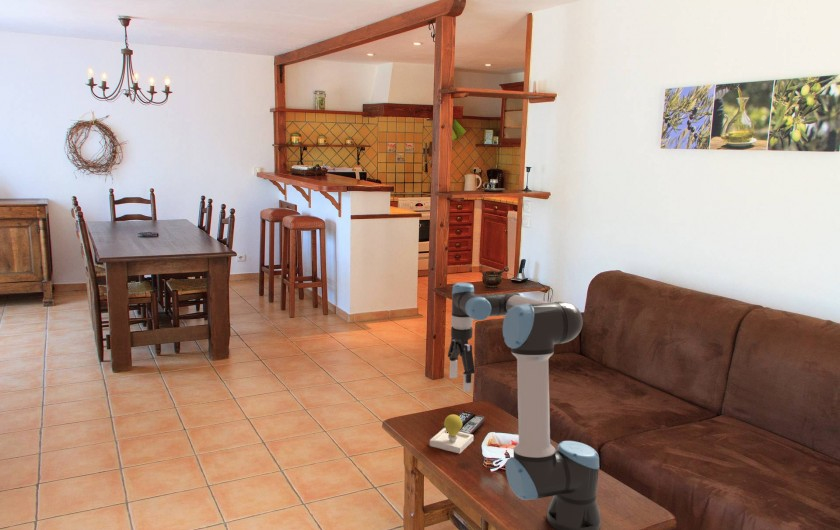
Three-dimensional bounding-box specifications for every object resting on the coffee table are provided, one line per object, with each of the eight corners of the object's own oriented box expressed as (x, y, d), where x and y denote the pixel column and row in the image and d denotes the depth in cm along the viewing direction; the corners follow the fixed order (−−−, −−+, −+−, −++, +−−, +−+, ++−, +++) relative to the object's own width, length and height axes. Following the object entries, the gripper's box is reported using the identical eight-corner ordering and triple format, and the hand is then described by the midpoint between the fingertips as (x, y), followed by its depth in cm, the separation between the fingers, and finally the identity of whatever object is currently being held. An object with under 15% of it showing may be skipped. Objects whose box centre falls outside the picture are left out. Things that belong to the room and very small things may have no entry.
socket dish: (459, 453, 225) (460, 447, 225) (429, 445, 230) (429, 440, 230) (473, 440, 235) (473, 435, 235) (444, 433, 241) (444, 427, 240)
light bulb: (462, 437, 235) (463, 412, 233) (460, 446, 228) (461, 419, 226) (444, 435, 236) (445, 410, 234) (442, 444, 229) (443, 418, 227)
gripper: (485, 335, 214) (483, 395, 217) (459, 317, 237) (457, 372, 241) (465, 337, 211) (463, 397, 215) (440, 318, 235) (438, 373, 238)
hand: (460, 384), depth 228 cm, fingers open, 13 cm apart
